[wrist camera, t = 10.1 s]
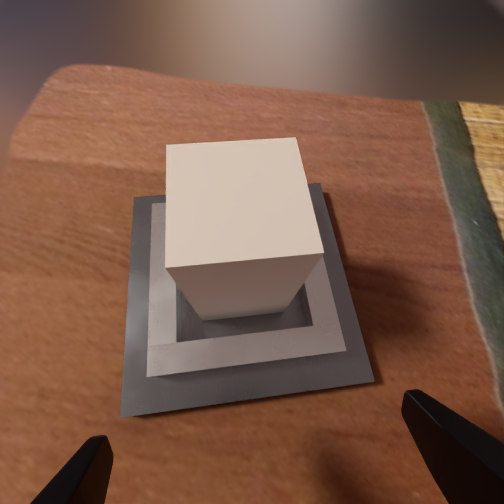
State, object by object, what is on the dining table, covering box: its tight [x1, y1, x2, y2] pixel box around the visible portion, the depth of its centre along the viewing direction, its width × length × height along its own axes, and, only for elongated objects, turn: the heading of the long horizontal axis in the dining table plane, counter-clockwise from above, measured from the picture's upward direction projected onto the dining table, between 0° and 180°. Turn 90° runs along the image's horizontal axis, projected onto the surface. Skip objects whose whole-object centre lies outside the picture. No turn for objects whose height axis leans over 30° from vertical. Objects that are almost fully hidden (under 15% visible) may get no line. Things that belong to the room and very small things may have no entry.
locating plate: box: [120, 183, 375, 418], centre depth 18 cm, size 14×14×2 cm
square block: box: [165, 137, 324, 321], centre depth 14 cm, size 5×5×9 cm
